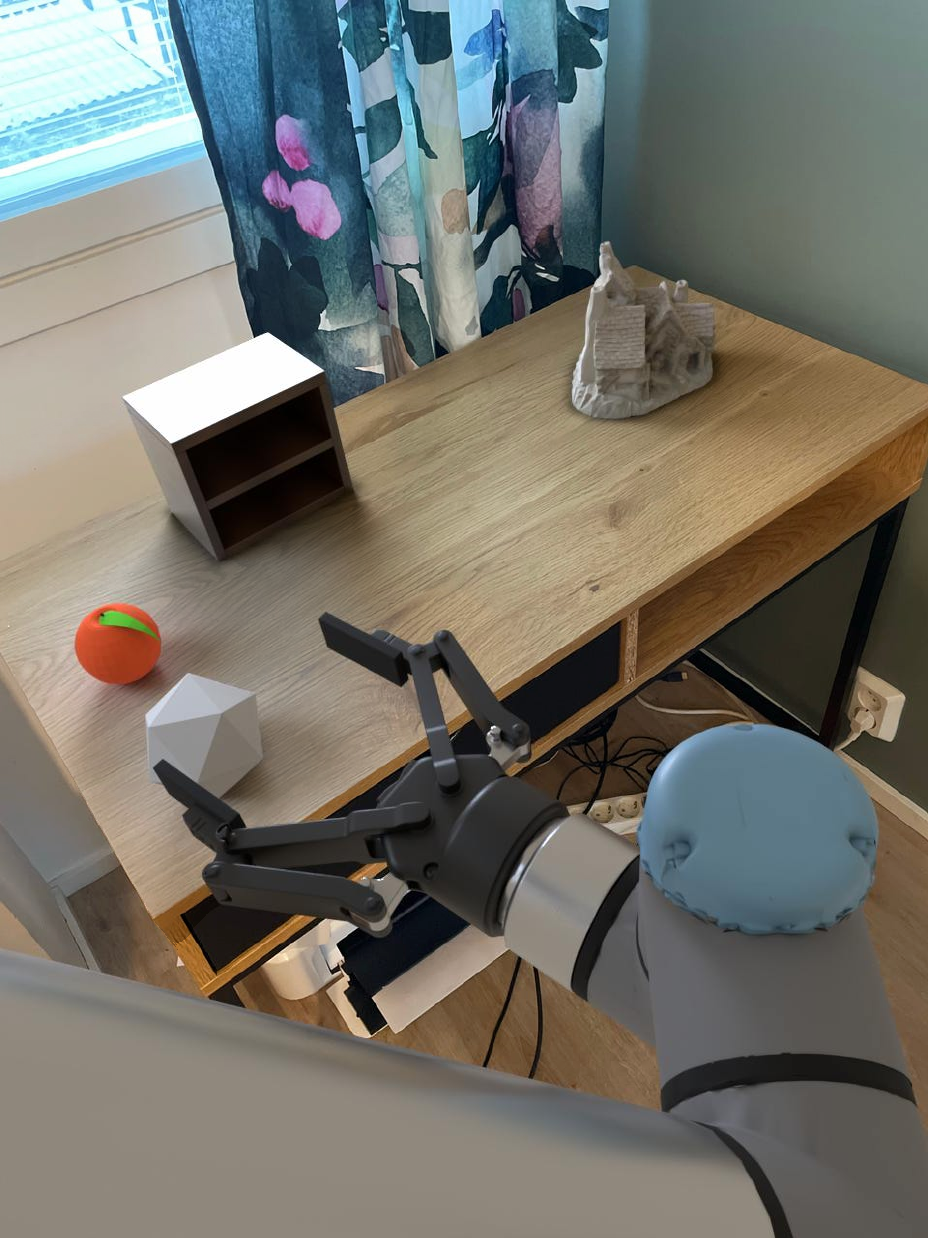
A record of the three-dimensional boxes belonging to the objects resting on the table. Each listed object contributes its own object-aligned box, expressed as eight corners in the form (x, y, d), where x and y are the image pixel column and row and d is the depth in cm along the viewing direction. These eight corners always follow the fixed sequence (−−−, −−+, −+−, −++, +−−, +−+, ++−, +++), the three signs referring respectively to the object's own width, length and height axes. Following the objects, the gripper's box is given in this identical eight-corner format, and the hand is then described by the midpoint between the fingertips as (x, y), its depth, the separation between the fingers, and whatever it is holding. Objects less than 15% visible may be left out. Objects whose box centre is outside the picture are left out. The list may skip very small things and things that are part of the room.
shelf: (218, 562, 88) (170, 443, 78) (171, 512, 94) (121, 396, 84) (353, 489, 94) (325, 370, 84) (300, 447, 100) (267, 332, 90)
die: (298, 778, 70) (270, 654, 68) (212, 826, 62) (179, 687, 61) (223, 776, 74) (195, 660, 73) (134, 820, 67) (102, 692, 66)
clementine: (196, 646, 80) (169, 590, 75) (160, 707, 76) (129, 651, 70) (119, 637, 82) (87, 581, 77) (79, 695, 78) (43, 639, 72)
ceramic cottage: (557, 413, 99) (564, 281, 89) (587, 343, 110) (596, 218, 100) (700, 433, 96) (725, 297, 85) (716, 358, 107) (740, 230, 96)
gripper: (389, 1122, 41) (112, 883, 51) (657, 747, 54) (391, 616, 64) (358, 1067, 36) (55, 813, 46) (663, 665, 48) (372, 536, 59)
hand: (250, 698), depth 55 cm, fingers open, 13 cm apart
